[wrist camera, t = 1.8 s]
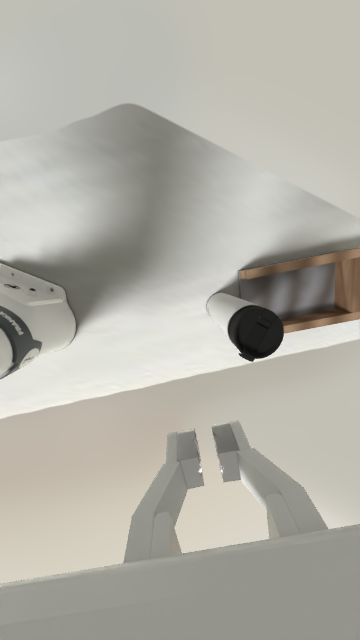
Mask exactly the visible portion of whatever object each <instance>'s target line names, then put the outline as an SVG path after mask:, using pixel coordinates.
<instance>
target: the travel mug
mask: <svg viewBox="0 0 360 640" xmlns="http://www.w3.org/2000/svg"><path fill="white" fill-rule="evenodd" d="M206 310H207V313H208V314H209V316H210V317H211V318H212V319H213V321H214V322H215V323H216V324H217V325H218V327H219V328H220V329H221V330H222V331H223V332H224V334H225V335H226V336H227V337H228V338H229V340H230V341H231V342H232V343H233V344H234V345H235V346H236V347H237V348H238V349H239V351H240V352H241V353H242V354H240V353H239V355H240V356H241V357H242V358H244V359H246V360H249V361H252V362H253V361H254V359H259V358H264V357H267V356H269V355H271V354H272V353H274V352H275V351H276V350H277V349H278V347H279V346H280V344H281V342H282V340H283V336H284V327H283V323H282V321H281V320H280V318H279V317H278V316H277V315H276V314H275V313H274V312H273V311H271V310H269V309H266V308H264V307H262V306H259V305H256V304H254V303H251V302H248V301H245V300H243V299H240V298H237V297H234V296H231V295H229V294H226V293H222V292H221V293H215V294H213V295H212V296H211V297H210V298H209V299H208V301H207V304H206Z"/></svg>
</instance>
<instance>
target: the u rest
mask: <svg viewBox="0 0 360 640" xmlns="http://www.w3.org/2000/svg"><path fill="white" fill-rule="evenodd" d="M238 280H239V290H240V299H243V300H245V301H248V302H251V303H254V304H256V305H259V306H262V307H264V308H266V309H269V310H271V311H273V312H274V313H275V314H276V315H277V316H278V317H279V318H280V320H281V321H282V323H283V327H284V333H289V332H295V331H300V330H305V329H310V328H316V327H321V326H326V325H331V324H337V323H342V322H347V321H353V320H358V319H360V248H356V249H349V250H342V251H336V252H331V253H326V254H321V255H316V256H311V257H306V258H301V259H296V260H291V261H286V262H281V263H276V264H271V265H266V266H261V267H256V268H251V269H246V270H241V271H238Z"/></svg>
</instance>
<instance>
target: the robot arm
mask: <svg viewBox="0 0 360 640" xmlns="http://www.w3.org/2000/svg"><path fill="white" fill-rule="evenodd" d="M52 289H53V290H54V291H52ZM75 331H76V322H75V318H74V315H73V313H72V311H71V309H70V307H69V305H68V303H67V299H66V293H65V290H64V289H63V288H62V287H60V286H58V285H55V284H53V283H50V282H47V281H45V280H42V279H40V278H37V277H35V276H32V275H30V274H27V273H25V272H22V271H19V270H17V269H14V268H12V267H9V266H7V265H4V264H2V263H0V379H2V378H4V377H6V376H8V375H9V374H11V373H13V372H15V371H16V370H18V369H20V368H22V367H24V366H25V365H27V364H28V363H30V362H31V361H32V360H34V359H35V358H37V357H39V356H41V355H44V354H47V353H50V352H55V351H59V350H61V349H63V348H65V347H66V346H68V345H69V344H70V343H71V341H72V340H73V338H74V335H75ZM212 432H213V436H214V442H215V447H216V452H217V456H218V459H219V464H220V468H221V473H222V477H223V481H224V482H228V481H235V480H241V481H242V482H243V484H244V485H245V486H246V487H247V488H248V489H249V491H250V492H251V493H252V494H253V495H254V496H255V498H256V499H257V500H258V501H259V502H260V504H261V505H262V506H263V507H264V508H265V509H266V511H267V519H268V530H269V539H267V540H261V541H256V542H250V543H243V544H237V545H231V546H225V547H219V548H214V549H207V550H201V551H195V552H189V553H183V554H182V552H181V549H180V545H179V542H178V539H177V535H176V533H175V529H174V526H175V524H176V521H177V518H178V516H179V513H180V510H181V507H182V504H183V502H184V499H185V496H186V493H187V489H190V488H195V487H200V486H204V482H203V475H202V468H201V463H200V462H201V459H200V453H199V447H198V442H197V439H196V433H195V429H190V430H184V431H178V432H172V433H168V435H167V453H166V464H163V465H162V467H161V469H160V471H159V472H158V474H157V475H156V477H155V479H154V480H153V482H152V484H151V486H150V487H149V489H148V491H147V493H146V494H145V496H144V497H143V499H142V501H141V502H140V504H139V506H138V507H137V509H136V511H135V512H134V514H133V516H132V520H131V525H130V530H129V536H128V542H127V548H126V552H125V558H124V563H123V564H117V565H111V566H105V567H100V568H93V569H88V570H81V571H76V572H69V573H63V574H57V575H51V576H45V577H39V578H33V579H27V580H21V581H15V582H9V583H3V584H0V640H360V524H358V525H352V526H346V527H340V528H334V529H328V527H327V526H326V524H325V522H324V521H323V519H322V517H321V516H320V514H319V512H318V511H317V509H316V507H315V506H314V504H313V502H312V501H311V499H310V498H309V496H308V494H307V492H306V491H305V489H304V488H303V487H302V486H301V485H300V484H299V483H297V482H296V481H295V480H293V479H292V478H291V477H290V476H288V475H287V474H286V473H285V472H283V471H282V470H281V469H279V468H278V467H277V466H276V465H275V464H273V463H272V462H270V460H268V459H267V458H266V457H264V456H263V455H262V454H261V453H259V452H258V451H257V450H256V449H254V448H252V449H251V447H250V445H249V443H248V440H247V438H246V436H245V434H244V431H243V429H242V427H241V425H240V423H239V421H233V422H227V423H222V424H217V425H212Z"/></svg>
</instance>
